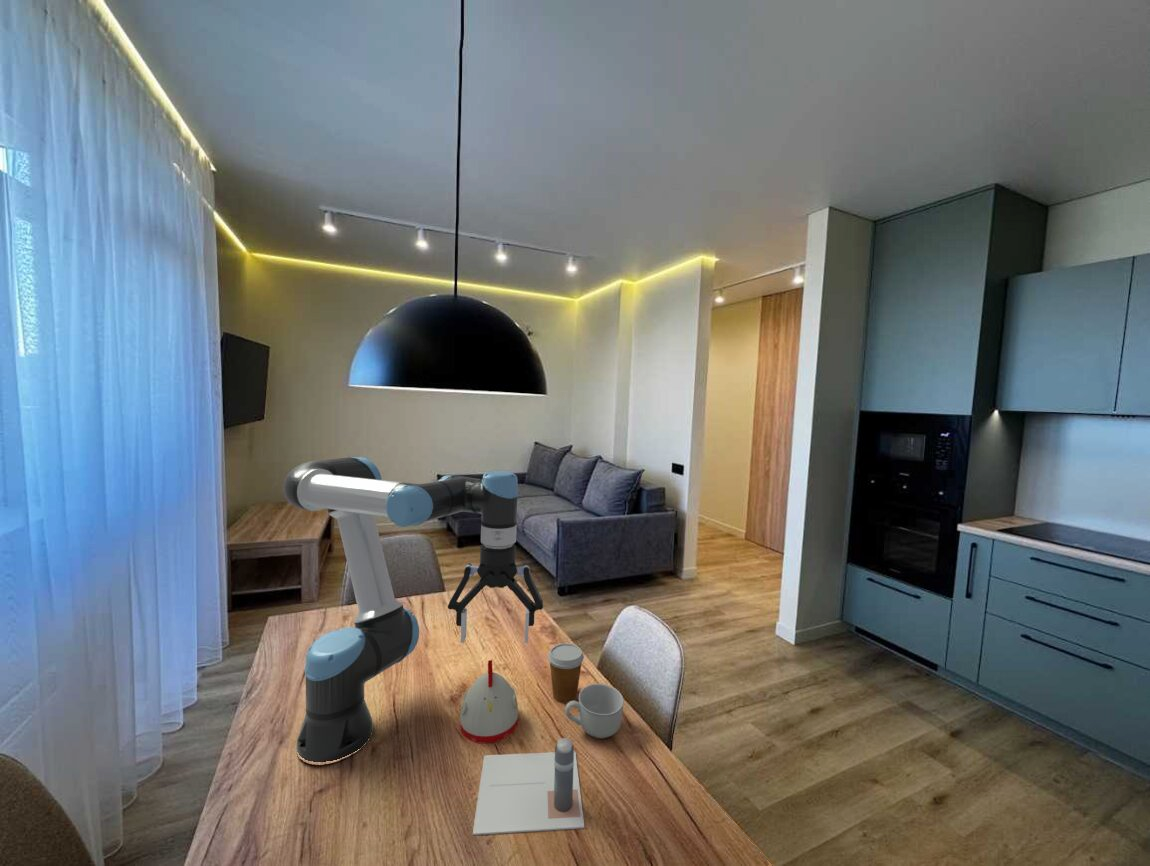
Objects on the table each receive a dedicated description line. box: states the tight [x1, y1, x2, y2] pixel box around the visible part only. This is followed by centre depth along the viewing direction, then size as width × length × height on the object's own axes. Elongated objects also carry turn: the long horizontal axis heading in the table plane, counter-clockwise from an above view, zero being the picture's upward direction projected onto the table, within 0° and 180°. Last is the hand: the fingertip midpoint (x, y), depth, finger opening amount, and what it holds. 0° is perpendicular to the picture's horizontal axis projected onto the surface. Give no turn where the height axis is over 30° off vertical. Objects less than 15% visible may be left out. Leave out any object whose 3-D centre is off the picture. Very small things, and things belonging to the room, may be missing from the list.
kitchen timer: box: [459, 659, 519, 744], centre depth 108 cm, size 14×14×15 cm
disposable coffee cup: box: [547, 642, 585, 704], centre depth 118 cm, size 10×10×12 cm
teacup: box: [564, 683, 625, 739], centre depth 106 cm, size 14×11×8 cm
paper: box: [472, 750, 585, 836], centre depth 89 cm, size 20×18×1 cm
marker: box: [554, 737, 575, 812], centre depth 85 cm, size 4×4×12 cm
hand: (495, 639), depth 97 cm, fingers open, 13 cm apart
